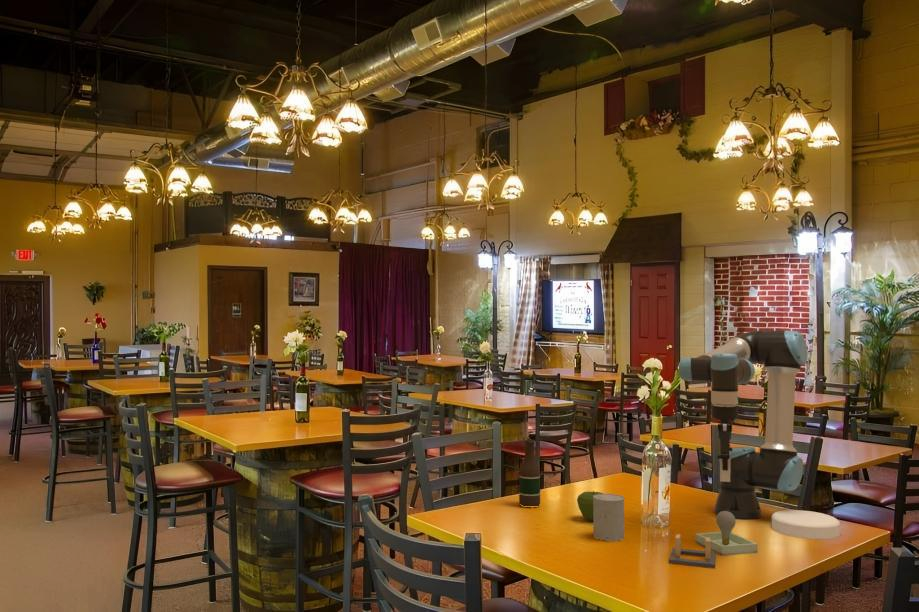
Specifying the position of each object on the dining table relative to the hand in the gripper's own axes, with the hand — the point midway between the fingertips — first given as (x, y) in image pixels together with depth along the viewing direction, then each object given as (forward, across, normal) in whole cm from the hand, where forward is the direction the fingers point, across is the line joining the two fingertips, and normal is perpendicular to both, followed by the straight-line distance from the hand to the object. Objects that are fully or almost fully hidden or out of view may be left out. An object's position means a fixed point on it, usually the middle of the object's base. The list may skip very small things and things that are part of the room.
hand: (725, 477), depth 217 cm
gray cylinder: (+21, -2, +34) cm, 40 cm away
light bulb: (+20, 0, 0) cm, 20 cm away
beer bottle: (+21, +28, +68) cm, 76 cm away
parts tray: (+21, 0, 0) cm, 21 cm away
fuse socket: (+20, -16, +9) cm, 27 cm away
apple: (+21, +17, +42) cm, 50 cm away
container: (+21, +29, -24) cm, 43 cm away
